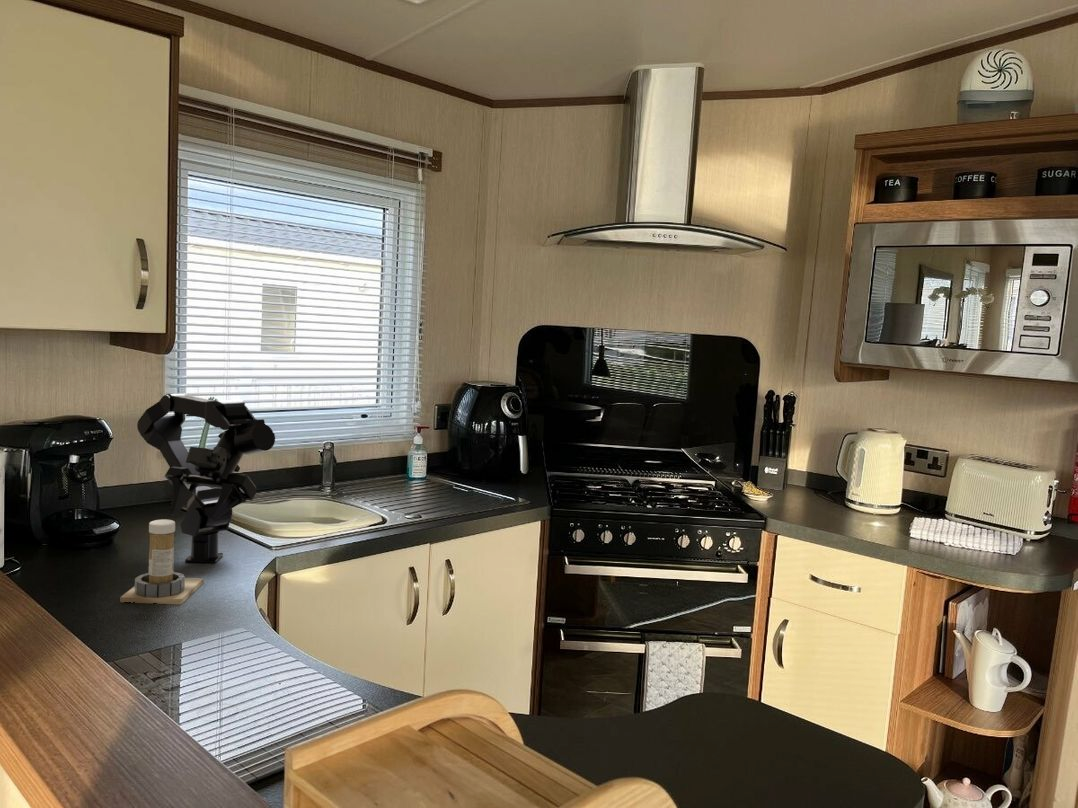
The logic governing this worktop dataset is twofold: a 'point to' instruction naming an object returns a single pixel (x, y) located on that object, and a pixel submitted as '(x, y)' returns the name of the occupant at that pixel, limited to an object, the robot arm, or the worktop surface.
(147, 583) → the socket ring
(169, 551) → the sprinkles bottle
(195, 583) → the carrier plate
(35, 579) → the worktop surface
